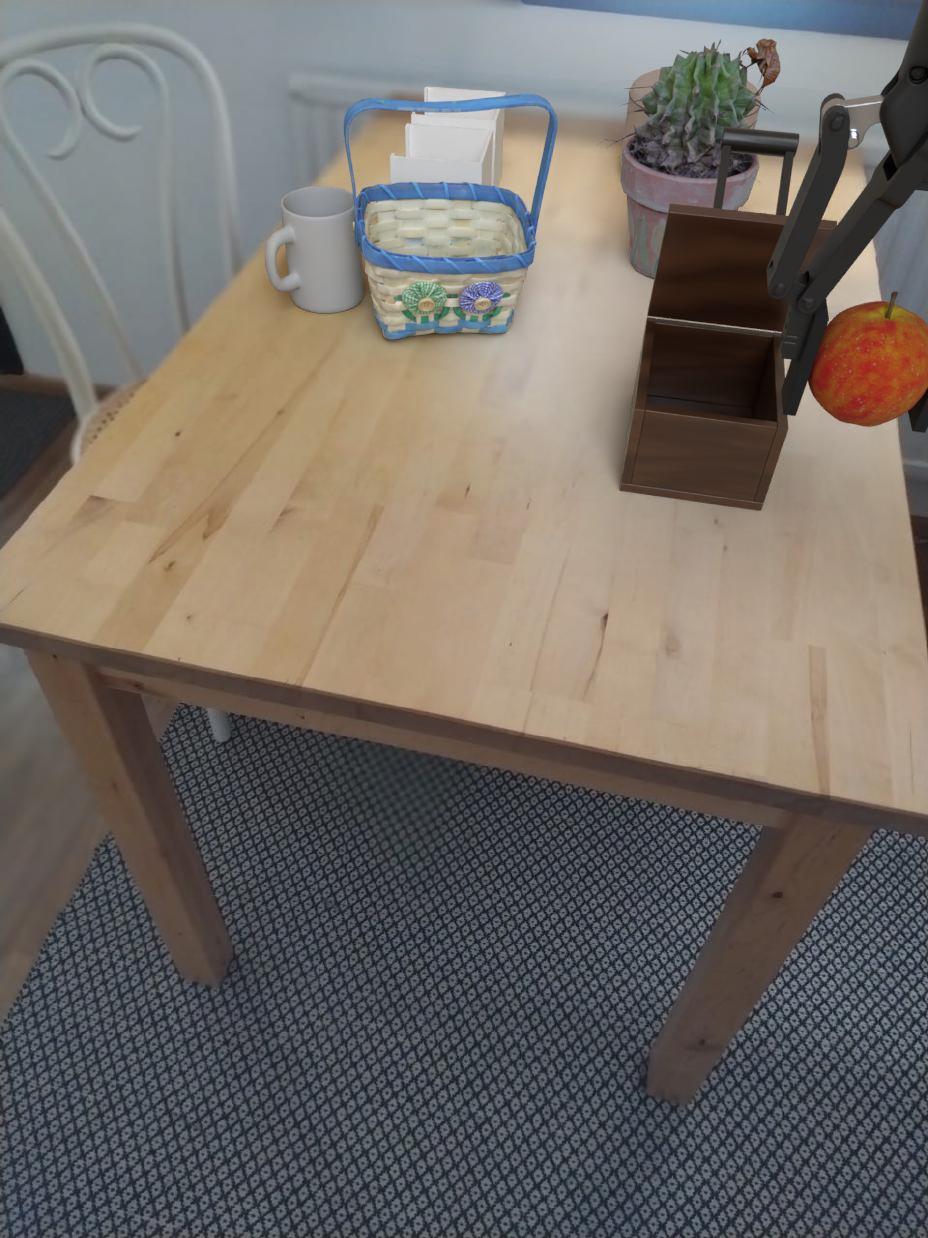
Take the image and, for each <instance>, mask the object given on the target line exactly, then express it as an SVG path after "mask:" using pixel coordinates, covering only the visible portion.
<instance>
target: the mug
mask: <svg viewBox="0 0 928 1238" xmlns="http://www.w3.org/2000/svg"><path fill="white" fill-rule="evenodd" d="M279 204H280V215H281V222H282V227H281V228H279V229H277V230H276V231H274V232H272V234H270V236H269V237H268V238H267V241H266V243H265V248H264V265H265V270H266V271H265V272H266V274H267V275H266V276H267V278H268V281H269V282H270V285H271V286H272V287H273V288H274V289H275V290H276V291H277V292H280V293H288V292H290V297H291V299H292V301H293V303H294V304H295V305H296V306H297V307H298V308H300V309H302V310H304V311H306V312H310V313H316V314H336V313H342V312H345V311H348V310H351V309H353V308H355V307H357V306H358V305H359V304H360V303H361V302H362V300H363V299H364V295H365V284H364V272H363V258H362V256H363V255H362V252H361V248H360V245H359V247H357V246H356V242H355V232H354V231H353V226H352V224H353V222H355V212H354V199H353V192H351V191H349V190H347V189H345V188H341V187H338V186H331V185H312V186H304V187H301V188H298V189H294V190H292V191H289V192H288V193H286V194H285V195H284V196H283V197H282V198H281V201H280V203H279ZM283 246H285V254H286V262H287V270H288V271H287V272H288V275H287V276H284V277H280V275H279V272H278V267H277V256H278V251H279V250H280V248H281V247H283Z"/></svg>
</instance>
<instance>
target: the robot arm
mask: <svg viewBox="0 0 928 1238" xmlns="http://www.w3.org/2000/svg"><path fill="white" fill-rule="evenodd" d="M818 123H819V125H818V139H817V140H818V141H817V145H816V147H815V149H814V152H813V154H812V156H811V159H810V162H809V164H808V167H807V169H806V172H805V174H804V176H803V178H802V181H801V184H800V186H799V188H798V191H797V193H796V196H795V199H794V200H793V203H792V206H791V208H790V211H789V213H788V215H787V216H788V218H787V220H786V223H785V225H784V228H783V230H782V232H781V235H780V237H779V240H778V242H777V245H776V247H775V250H774V252H773V254H772V257H771V259H770V262H769V264H768V267H767V284H768V293H769V295H770V296H771V298H774V299H783V300H785V301H787V302H789V303H790V304H791V305H790V308H789V311H788V314H787V318H786V321H785V324H784V327H783V330H782V332H781V333H782V334H781V337H780V344H781V354H782V359H784V360H790V362H789V365H788V368H787V371H786V373H785V380H784V383H783V387H782V390H781V392H782V407H783V415H787V416H791V417H796V416H797V413H798V411H799V408H800V405H801V401H802V398H803V396H804V393H805V390H806V387H807V384H808V379H809V376H810V373H811V370H812V367H813V364H814V361H815V358H816V355H817V353H818V350H819V347H820V344H821V341H822V338H823V335H824V332H825V329H826V327H827V325H828V324H829V322H830V321H829V320H830V317H829V309H828V308H829V307H828V301H827V298H828V297H829V296H830V294H831V293H832V292H833V290H834V289H835V288H836V286H838V284H839V282H840V281H841V280H842V279H843V277H844V276H845V275H846V274H847V272H848V271H849V269H851V267H852V266H853V265H854V263H855V262H856V261H857V259H858V258H859V257H860V256H861V255H862V253H863V252H864V251H865V250H866V248H867V246H869V244H870V243H871V242H872V240H873V239H874V238H875V237H876V235H877V234H878V233H879V232H880V230H881V229H882V227H883V226H884V225H885V224H886V223H887V221H888V220H889V218H891V216H892V215H893V214H894V212H895V211H896V210H899V209H901V208H902V207H903V206H904V205H905V204H906V203H907V201H908V200H909V199H910V198H911V196H912V195H913V194H914V192H915V191H921V192H928V0H921V5H920V7H919V10H918V13H917V16H916V19H915V22H914V25H913V28H912V31H911V34H910V37H909V40H908V43H907V45H906V48H905V52H904V55H903V58H902V62H901V63H900V66H899V68H898V70H897V71H896V73H895V74H894V75H893V77H892V78H891V80H890V81H889V82H888V83H887V84H885V86H884V87H883V89H882V90H881V92H880V94H877V95H869V96H864V97H856V98H850V99H846V98H845V97H844V95H843V94H841V93H839V92H833V93H830V94H828V95H827V96H825V97H824V99H823V100H822V101H821V104H820V107H819V122H818ZM876 124H880V125H881V128H882V130H883V134H884V137H885V139H886V142H887V146H888V148H889V150H888V151H887V152H886V153H885V155H884V156H883V157H882V159H881V160H880V162H879V163H878V164H877V166H876V167H875V168H874V171H873V173H872V176H871V178H870V180H869V181H868V183H867V184H866V185H865V187H864V188H863V190H862V191H861V193H860V194H859V195H858V196H857V198H856V199H855V200H854V201H853V203H852V204H851V206H850V207H849V209H848V210H847V211H846V212H845V214H844V216H843V217H842V218H841V219H840V220H839V222H837V226H836V228H835V229H834V230H833V232H832V233H831V234H830V236H829V237H828V238H827V240H826V241H825V242H824V244H823V245H822V246H821V248H820V249H819V250H818V252H817V253H816V255H815V256H814V257H813V259H812V260H811V261H810V263H809V264H808V265H807V267H806V268H805V269H804V271H803V272H802V273H801V272H799V270H800V267H801V265H802V263H803V261H804V258H805V256H806V254H807V252H808V249H809V247H810V245H811V242H812V240H813V238H814V236H815V233H816V231H817V229H818V226H819V224H820V222H821V220H823V217H824V215H825V212H826V210H827V208H828V206H829V204H830V201H831V198H832V197H833V194H834V192H835V190H836V188H837V185H838V183H839V180H840V178H841V176H842V174H843V170H844V168H845V164H846V161H847V157H848V151H851V150H854V149H856V148H858V147H859V145H861V144H862V142H863V141H864V138H865V136H866V133H867V131H869V129H870V128H871V127H872V126H875V125H876ZM907 413H908V414H907V415H908V419H909V423H910V427H911V432H915V433H922V434H926V432H927V430H928V388H927V390H926V392H925V393H924V395H923V396H922V397H921V398H920V400H919V401H918V402H917V403H916V404H915V405H914V406H913V407H912V408H911V409H910V410H908V411H907Z"/></svg>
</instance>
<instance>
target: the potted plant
mask: <svg viewBox="0 0 928 1238" xmlns="http://www.w3.org/2000/svg"><path fill="white" fill-rule="evenodd" d="M721 43H722V40H721V38H720V39H719V41H718V44H717V46H716V41H713V42H712V44H711V47H710V48H707V47H706V45H703V51H699V52H698V51H697V50H695V51H693V50H692V51H690V52H689V51H686V50H680V49H679V51H680V52H682V53H683V54H687V56H686V57H683V56H682V55H681V54H678V53H677V54H676V56H675V57H674V61H673V64H672V66H671V65H670V66H661V67H660V69H661V70H660V75H659V81H658V82H656V83H654V85H653V86H649V87H651V88H652V89H653V90H652V91H650V92H649V93H647V94H646V95H644V96H643V97H642V99H640V100H636V101H633V102H638V101H642V103H643V105H644V106H645V107H644V108H642V109H639V110H636V111H633V112H642V111H644V113H645V114H647V115H648V119H647V121H646V122H645V124H643V125H641V126H638V127H636V128H635V126H634V129H635V131H634V132H632V133H631V134H629V135H627V136H625V137H624V136H623V137H621V138H619V139H618V140H612V139H610V141H612V142H613V143H611V144H610V145H609V146H608V147H610V146H612V145H613V144H615V143H618V142H620V141H623V139H624V138H626V137H629V136H631V135H634V134H635V136H633V137H632V138H630V140H629V141H628V142H627V143H626V145H625V147H624V148H623V150H622V149H621V152H622V155H621V154H620V155H619V156H618V158H621V156H622V163H621V165H620V166H621V168H620V185H621V187H622V191H623V193H624V194H625V197H626V207H627V222H628V223H627V224H628V238H629V251H630V264H631V265H632V267H633V269H634V270H635V271H636V272H638V273H640V274H641V275H643V276H645V277H647V278H651V279H654V278H655V273H656V268H657V264H658V259H659V254H660V249H661V244H662V239H663V234H664V229H665V225H666V220H667V215H668V210H669V205H670V204H679V205H689V206H698V207H708V208H713V204H714V197H715V191H716V184H717V177H718V171H719V164H720V157H721V151H720V150H719V149H720V142H721V137H722V132H723V128H724V127H735V128H746V129H750V128H751V126H752V125H753V124H754V123H753V124H752V125H751V126H748V125H747V123H746V121H745V119H744V117H745V116H746V115H747V114H748V113H749V112H750V111H751V110H752V109H753V108H754V107H755V106H759V105H757V104H756V102H758V103H759V104H761V106H759V107H760V108H761V107H762V109H763V110H764V111H767V110H768V111H769V112H771V113H772V114H774V112H773V111H771V110H770V109H769V108H768V107H767V106H766V105H764V104H763V103H762V101H761V102H760V101H759V100H758V99H757V98H756V97H757V96H759V95H760V96H761V94H762V92H763V90H764V88H766V87H769V86H770V85H771V84H773V83H775V82H776V81H777V79H778V77H779V75H780V73H781V61H780V56H779V53H778V51H777V41H775V40H774V39H772V38H770V39H767V38H762V39H759V40H758V41H757V42H756V44H755V46H754V47H751V46H749V47H747V48H745V49H744V50H741V51H739V53H738V55H737V57H735V58H734V59H732V60H731V53H730V52H723V53H720V51H718V50H719V49H718V48H719V46H720V45H721ZM755 47H756V48H755ZM756 50H757V51H756ZM746 51H747V52H746ZM745 55H746V56H748V57H749V58H750V64H748V65H744V64H743V60H741V59H742V58H741V57H743V56H745ZM755 64H756V65H757V67H758V70H759V72H760V74H761V76H760V78H759V81H758V85H757V86H759V84H760V83H761V80H762V78H763V80H762V84H761V86H760V88H759V89H757V90H758V91H757V92H756V93H755V94H754V93H753V92H752V91H750V90H749V89H748V88H746V86H747V81H748V69H749V68H750V67H752V66H754V65H755ZM637 88H647V87H637ZM630 89H634V88H631V87H628V88H625V90H630ZM633 102H630V103H633ZM628 104H629V103H628V102H627V103H623V104H621V105H619V107H620V106H623V105H624V106H625V105H628ZM628 113H629V112H628ZM620 114H623V112H621V113H620ZM604 141H608V139H607V138H605V139H604V140H602V141H600V142H599V143H597V146H598V145H599V144H601V143H603V142H604ZM608 147H606V149H608ZM759 169H760V158H759V155H754V154H744V153H733V152H731V153H730V160H729V167H728V173H727V180H726V187H725V193H724V200H723V207H722V209H727V210H736V211H739V209H740V208H741V207H744V206H745V204H746V203H747V201H749V198H750V195H751V193H752V190H753V186H754V184H755V181H758V183H761V181H759V180H757V176H758V172H759Z"/></svg>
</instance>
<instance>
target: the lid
mask: <svg viewBox="0 0 928 1238" xmlns="http://www.w3.org/2000/svg"><path fill="white" fill-rule="evenodd" d="M799 142H800V133H797V132H787V131H777V130H766V129H756V128H755V129H746V128H735V127H724V128H723V132H722V137H721V142H720V149H719V150H720V151H721V157H720V164H719V171H718V177H717V184H716V191H715V197H714V204H713V208H708V207H698V206H689V205H679V204H670V205H669V210H668V215H667V220H666V225H665V229H664V234H663V239H662V244H661V249H660V254H659V259H658V264H657V268H656V273H655V278H653V283H652V289H651V293H650V298H649V302H648V303H649V304H648V308H647V314H646V317H651V318H659V319H667V320H675V321H684V322H692V323H701V324H709V325H717V326H726V327H734V328H742V329H751V330H759V331H767V332H777V333H782V330H783V327H784V324H785V321H786V318H787V314H788V311H789V308H790V305H791V304H790V303H789V302H787V301H785V300H783V299H774V298H771V296H770V295H769V293H768V284H767V267H768V264H769V262H770V259H771V257H772V254H773V252H774V250H775V247H776V245H777V242H778V240H779V237H780V235H781V232H782V230H783V228H784V225H785V223H786V220H787V218H788V215H787V211H788V210H787V208H788V202H789V195H790V187H791V181H792V172H793V165H794V158H795V157H796V155H797V152H798V148H799ZM731 152H733V153H744V154H754V155H757V156H766V157H776V158H783V159H782V167H781V173H780V181H779V188H778V196H777V203H776V210H775V213H764V212H755V211H746V210H745V211H744V210H738V211H736V210H727V209H722V207H723V200H724V193H725V187H726V180H727V173H728V167H729V160H730V153H731ZM837 225H838V220H831V219H822V220H821V222H820V224H819V226H818V229H817V231H816V233H815V236H814V238H813V240H812V242H811V245H810V247H809V249H808V252H807V254H806V256H805V258H804V261H803V263H802V265H801V267H800V270H799V272H801V273H802V272H803V271H804V269H805V268H806V267H807V265H808V264H809V263H810V261H811V260H812V259H813V257H814V256H815V255H816V253H817V252H818V250H819V249H820V248H821V246H822V245H823V244H824V242H825V241H826V240H827V238H828V237H829V236H830V234H831V233H832V232H833V230H834V229H835V228H836V226H837Z"/></svg>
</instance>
